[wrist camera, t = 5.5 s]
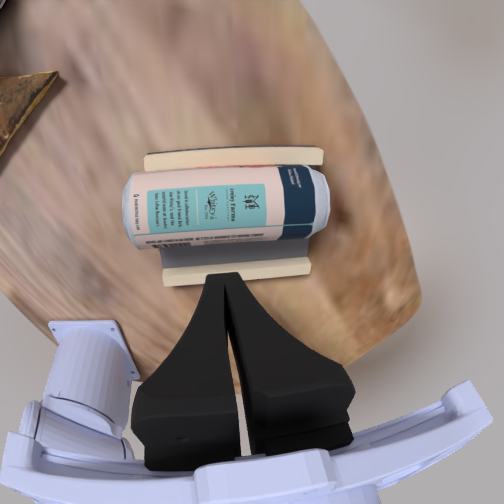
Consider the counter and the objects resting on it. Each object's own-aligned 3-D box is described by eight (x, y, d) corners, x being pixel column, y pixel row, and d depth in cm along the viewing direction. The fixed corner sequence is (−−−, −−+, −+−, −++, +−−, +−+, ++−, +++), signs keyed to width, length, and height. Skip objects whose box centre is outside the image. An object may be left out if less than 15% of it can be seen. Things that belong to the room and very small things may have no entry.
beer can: (141, 218, 21) (302, 209, 22) (132, 266, 17) (322, 252, 19) (130, 160, 17) (312, 152, 19) (113, 201, 14) (339, 189, 16)
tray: (304, 263, 25) (309, 273, 24) (165, 275, 24) (164, 286, 22) (315, 145, 20) (323, 150, 18) (147, 153, 18) (143, 158, 17)
